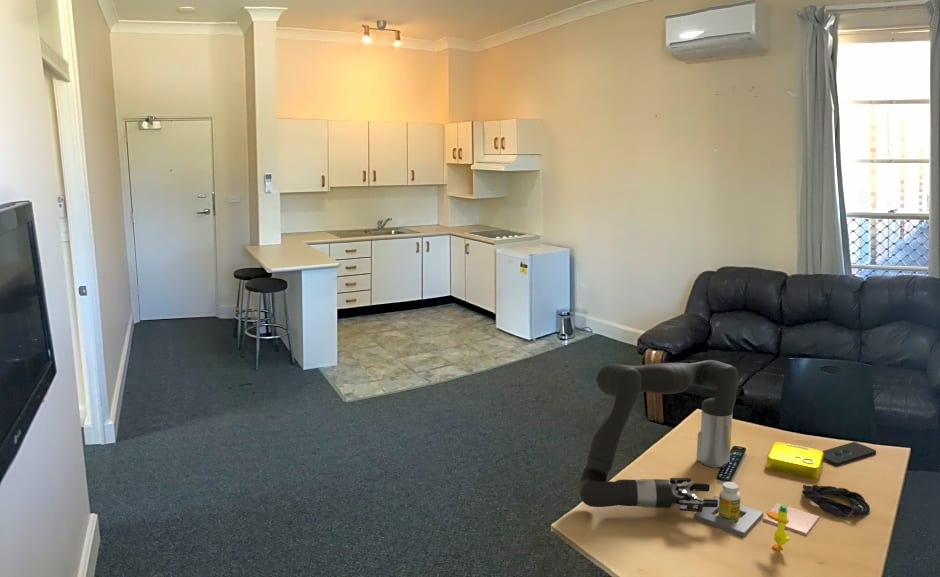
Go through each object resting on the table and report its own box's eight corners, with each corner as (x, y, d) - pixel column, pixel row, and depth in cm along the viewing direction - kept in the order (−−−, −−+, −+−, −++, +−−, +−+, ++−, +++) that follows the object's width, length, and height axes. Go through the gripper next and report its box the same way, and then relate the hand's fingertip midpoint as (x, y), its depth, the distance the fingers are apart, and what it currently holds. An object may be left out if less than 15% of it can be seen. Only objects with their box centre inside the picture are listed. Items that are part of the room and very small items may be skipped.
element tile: (823, 462, 215) (824, 448, 214) (818, 481, 203) (819, 467, 202) (773, 452, 223) (774, 438, 222) (764, 470, 211) (766, 455, 210)
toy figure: (760, 544, 170) (763, 501, 168) (767, 539, 172) (771, 496, 170) (786, 556, 165) (790, 512, 162) (793, 551, 167) (797, 507, 164)
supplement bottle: (726, 510, 187) (728, 478, 185) (743, 518, 182) (745, 486, 180) (714, 516, 184) (716, 483, 182) (731, 524, 179) (733, 491, 177)
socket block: (693, 518, 183) (694, 514, 182) (714, 499, 192) (714, 495, 192) (743, 536, 173) (744, 532, 173) (763, 516, 183) (763, 512, 183)
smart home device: (813, 452, 218) (853, 441, 227) (813, 457, 219) (853, 445, 227) (836, 463, 211) (877, 450, 219) (836, 468, 211) (877, 455, 220)
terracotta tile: (762, 520, 181) (762, 518, 181) (777, 504, 189) (777, 502, 189) (806, 535, 174) (806, 533, 174) (819, 518, 182) (819, 516, 181)
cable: (790, 497, 193) (791, 483, 192) (819, 485, 200) (820, 471, 199) (848, 525, 179) (850, 510, 178) (878, 510, 186) (879, 496, 185)
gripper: (657, 493, 176) (721, 495, 174) (648, 468, 190) (707, 470, 188) (656, 519, 177) (719, 521, 176) (647, 493, 191) (706, 494, 190)
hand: (713, 494), depth 182 cm, fingers open, 8 cm apart
